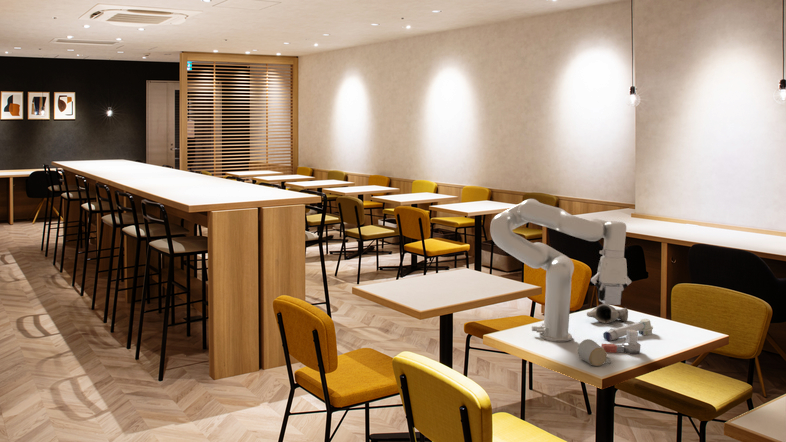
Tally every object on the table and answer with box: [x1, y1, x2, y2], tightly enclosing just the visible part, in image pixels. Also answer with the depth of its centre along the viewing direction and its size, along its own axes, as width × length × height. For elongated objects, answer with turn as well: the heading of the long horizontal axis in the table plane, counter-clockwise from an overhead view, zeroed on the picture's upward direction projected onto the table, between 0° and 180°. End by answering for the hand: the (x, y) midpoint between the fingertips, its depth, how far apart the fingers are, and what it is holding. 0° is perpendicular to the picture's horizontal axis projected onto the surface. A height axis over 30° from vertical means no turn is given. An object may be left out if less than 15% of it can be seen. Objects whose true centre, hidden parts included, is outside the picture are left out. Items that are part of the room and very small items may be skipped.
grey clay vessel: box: [586, 303, 629, 324], centre depth 264 cm, size 16×9×15 cm
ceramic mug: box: [577, 338, 612, 367], centre depth 213 cm, size 11×8×8 cm
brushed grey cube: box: [598, 284, 623, 306], centre depth 231 cm, size 6×6×7 cm
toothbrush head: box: [602, 318, 654, 342], centre depth 244 cm, size 5×7×25 cm
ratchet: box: [600, 330, 641, 356], centre depth 226 cm, size 14×6×8 cm, turn 91°
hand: (609, 299), depth 232 cm, fingers closed on brushed grey cube, 6 cm apart
